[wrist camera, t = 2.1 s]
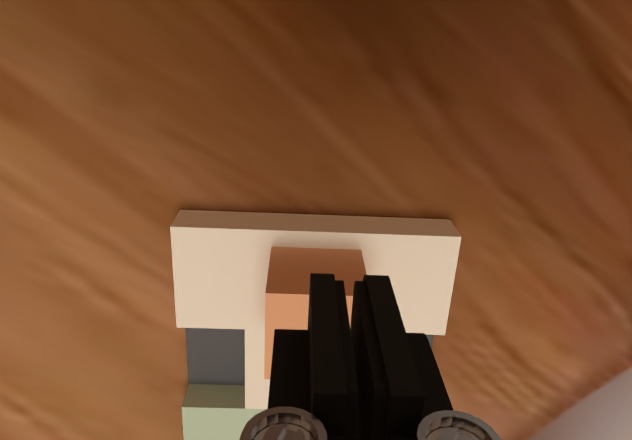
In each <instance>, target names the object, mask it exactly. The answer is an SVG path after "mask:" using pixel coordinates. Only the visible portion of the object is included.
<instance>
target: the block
mask: <svg viewBox="0 0 632 440" xmlns="http://www.w3.org/2000/svg"><path fill="white" fill-rule="evenodd" d="M310 273H325V274H334V275H335V280H343V281H344V287H345V294H346V302H347V309H348V316H349V323H350V326H351V314H352V302H353V291H354V282H355V281H363V277H364V275H367V274H366V269H365V265H364V260H363V256H362V251H361V250H353V249H323V248H294V247H271V253H270V261H269V269H268V276H267V284H266V292H265V357H264V379H270V375H271V364H272V353H273V342H274V331H275V329H296V330H308V309H309V289H310Z"/></svg>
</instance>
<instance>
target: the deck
mask: <svg viewBox="0 0 632 440" xmlns="http://www.w3.org/2000/svg"><path fill="white" fill-rule="evenodd" d="M170 231H171V246H172V262H173V278H174V293H175V309H176V325H177V328H186V345H187V363H188V380H189V385H188V388H187V391H186V395H185V398H184V401H183V405H182V419H183V434H184V440H239V439H240V436H241V433H242V431H243V429H244V427H245V425H246V423H247V422H248V421H249V420H250V419H251V418H252V417H253V416H255V415H256V414H258V413H260V412H262V411H264V410H266V409H268V397H269V386H270V379H264V357H265V292H266V284H267V276H268V269H269V261H270V253H271V247H294V248H323V249H353V250H361V251H362V256H363V260H364V265H365V269H366V274H367V275H386V276H389V278H390V281H391V284H392V288H393V291H394V294H395V298H396V301H397V304H398V308H399V311H400V314H401V318H402V321H403V324H404V328H405V331H406V333H424V334H426V336H427V338H428V341H429V344H430V346H431V347H432V340H433V335H445V331H446V325H447V319H448V314H449V308H450V302H451V296H452V290H453V284H454V278H455V272H456V266H457V260H458V254H459V248H460V242H461V236H460V234H459V232H458V231H457V229H456V228H455V226H454V225H453V223H452V222H451V220H450V219H425V218H397V217H370V216H342V215H315V214H287V213H260V212H232V211H204V210H180V211H179V212H178V214H177V216H176V218H175V219H174V221H173V223H172V225H171V226H170Z"/></svg>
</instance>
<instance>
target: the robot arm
mask: <svg viewBox="0 0 632 440" xmlns="http://www.w3.org/2000/svg"><path fill="white" fill-rule="evenodd" d="M239 440H501V438H500V437H499V435H498V434H497V433H496V432H495V431H494V429H493V428H492V427H491V426H489V425H488V424H487V423H485V422H484V421H483V420H481V419H479V418H477V417H475V416H473V415H470V414H468V413H464V412H460V411H453V408H452V405H451V402H450V399H449V397H448V394H447V391H446V388H445V386H444V383H443V380H442V377H441V374H440V372H439V369H438V366H437V363H436V360H435V358H434V355H433V352H432V349H431V346H430V344H429V341H428V338H427V336H426V334H424V333H406V331H405V328H404V324H403V321H402V318H401V314H400V311H399V308H398V304H397V301H396V298H395V294H394V291H393V288H392V284H391V281H390V278H389V276H386V275H364V277H363V281H355V282H354V291H353V302H352V314H351V326H350V323H349V316H348V309H347V302H346V294H345V287H344V281H343V280H335V275H334V274H325V273H310V289H309V309H308V330H296V329H275V331H274V342H273V353H272V364H271V375H270V386H269V397H268V409H266V410H264V411H262V412H260V413H258V414H256V415H255V416H253V417H252V418H251V419H250V420H249V421H248V422H247V423H246V425H245V427H244V429H243V431H242V433H241V436H240V439H239Z"/></svg>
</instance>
